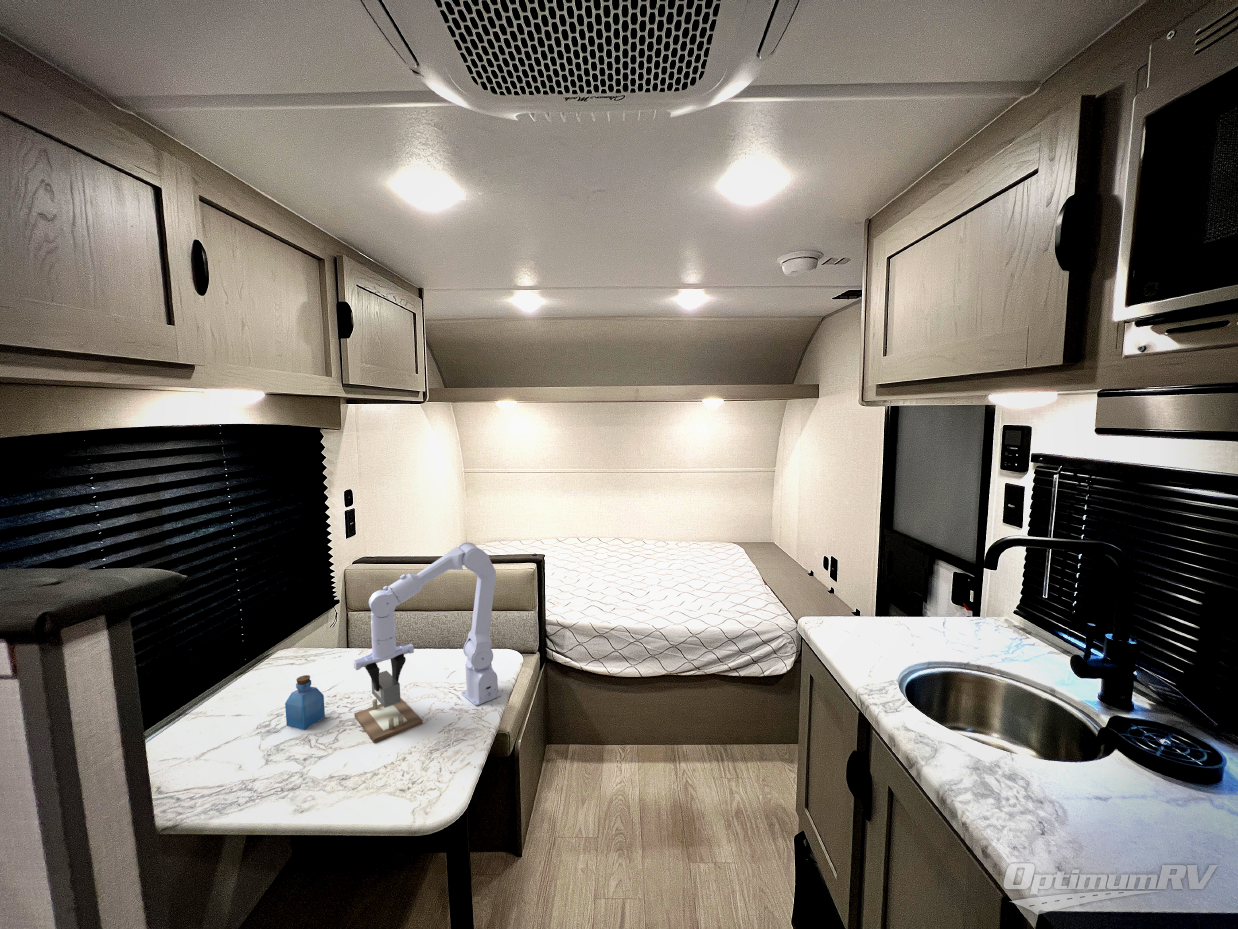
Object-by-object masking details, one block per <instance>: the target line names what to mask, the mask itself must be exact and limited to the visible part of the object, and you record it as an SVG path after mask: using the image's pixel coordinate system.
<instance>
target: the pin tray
mask: <svg viewBox="0 0 1238 929" xmlns="http://www.w3.org/2000/svg"><path fill="white" fill-rule="evenodd" d="M400 699H401V702H399V703H396V704H394V705H391V706H388V707H386V708H384V706H383V705H382V704H381V703H380V704H378V700H377V698H374V699H373V700H372V701H371V702H372V704H371V705H372V706H371V707H369V708H366V709H363V710H360V711H356V712H355V713H354V718H355V719H356V721H357V723H358V724H359V725H360V726H361V728H362V730H364V732H365V733H366V735H367V736H368V737H369V739H370V740H371V741H372V743H373V744H376V743H377V742H380V741H383V740H385V739H389V738H390V737H392V736H395V735H398V734H399V733H403V732H405V731H408V730H410V729H413V728H415V727H418V726H419V725H422V724H423V719H422V718H421V717H420V716H419V715H418V714H417V713H416V712H415V711H414V710H413V709H412V708H411V707H410V706H409V704H407V702H405V701H404V699H403V698H402V697H400Z"/></svg>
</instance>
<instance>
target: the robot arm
mask: <svg viewBox="0 0 1238 929" xmlns="http://www.w3.org/2000/svg"><path fill="white" fill-rule="evenodd" d="M463 566H464V567H465V569H467V570H469V571H471V572H473V573H474V574H475V575H476V585H475V586H476V587H475V594H474V602H473V603H474V604H473V612H472V622H471V630H470V631H469V632H468V634H467V639H466V641H465V643H464V645H463V649H462V650H463V654H464V656H466V657H467V659H466V662H465V684H466V685H465V686H466V689H465V690H463V691H461V695H462V696H463V697H464V698H466V699H467V700H468V701H470V702H471V703H472V704H473V705H474V706H479V705H482V704H484V703H486V702H489V701H491V700H494V699H496V698H499V697H501V696H502V694H501V693H500V692H499V682H498V674H497V672H495V670H494V669H493V667H492V665H493V664H492V661H493V659H494V653H493V650H492V639H491V634H490V628H491V623H492V622H491V620H492V611H493V604H494V603H493V602H494V594H495V584H496V578H497V570H496V568H495V567H494V565H493V563H492V561H491V559H490V555H489V554H488V553H486V552H485V551H484V550H483V549H481V548H480V547H478V546H477V545H476V544H474V543H472V542H470V541H469V542H463V543H461V544H460V545H459V546H456V547H453V548H452V549H450V551H448V552H447V553H445V554H444V555H443V556H441V557H439V558H438V559H437V560H435V561H433V562H432V563H431V564H430V565H428V566H426V567H425V568H423V569H422V570H421V571H419V572H418V573H407V574H402V575H400V576H399V579H397V580H396V581H395V582H393V583H392V584H389V585H388V586H387V585H385V586H383V588H382V590H381V589H379V590H376V591H375V592H373V593H372V594H371V595H370V597H369V599H368V602H367V603H368V606H369V608H370V612H371V614H370V619H371V621H370V633H371V635H370V636H371V652H372V653H369V654H366V655H365V656H363V657H361V658H358V659H354V660H353V668H354V669H355V671H359V670H361V669H362V668H364V669H366V671H367V673H368V675H369V677H370V680H371V679H372V682H373V685H374V689H375V690H376V692H377V691H379V690H380V686H379V673H380V670H381V669H380V667H378V666H379V665H378V663H381V662H384V661H388V660H390V663H391V664H390V665H391V675H392V676H393V677H394V678H395V679H396V680H397V681H398V682H399V680H400V679H399V678H400V675H401V672H402V669H403V668H404V665H405V663H406V659H407V658H406V656H405V655H407V654H409V655H410V654H414V652H415V649H414V648H415V647H414V645H413V644H412V643H407V644H403V645H398V646H397V638H396V620H395V617H394V612H395V610H396V608H397V606H400V605H401V604H403V603H405V602H406V601H408V600H409V599H410V598H412V597H414V596H415V595H417V594H419V593H421V591H422V589H423V587H424V586H423V585H425V584H426V583H428V582H430V581H432V580H433V579H435V578H437V577H439V576H441V575H442V574H444V573H446V572H448V571H449V570H459V571H460V570H463ZM372 682H371V683H372Z"/></svg>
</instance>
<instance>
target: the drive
mask: <svg viewBox="0 0 1238 929" xmlns="http://www.w3.org/2000/svg"><path fill="white" fill-rule="evenodd" d="M370 680H371V694H372V695H373V696H374V697H375V699H377V702H378V703H380V704H382V705H383V706H384V708H386V707H388V706H391V705H394V704H396V703H399V702H401V699H402V698H401V685H400V682H399V680H398V681H397V680H396V679H395V678H394V677H393V676H392V673H389V671H388V670H383V671H381V672H380V671H379V686H380V690H379V691H377V692H376V690H375V689H374V685H373V682H372V679H371V678H370ZM400 698H401V699H400Z"/></svg>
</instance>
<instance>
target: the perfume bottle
mask: <svg viewBox="0 0 1238 929" xmlns="http://www.w3.org/2000/svg"><path fill="white" fill-rule="evenodd" d="M295 688H296V690H294V691H292V692H291V693H290V695H289V696H288V698H287V699H286V701H285V704H284V705H285V708H284V709H285V720H286V721H285V722H286V727H289V728H290V727H291V728H292V729H293V728H294V729H299V730H302V731H306V730H307V729H308V728H310V727H311V726H313V725H315V724H316V723H319V721H321V720H322V719H325V718H326V713H325V712H326V709H325V696H324V693H323V692H321V691H320V690H319V689H318V687H316V686H312V680H311V675H309V674H306V675H301V676H299V677H296V683H295Z"/></svg>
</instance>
